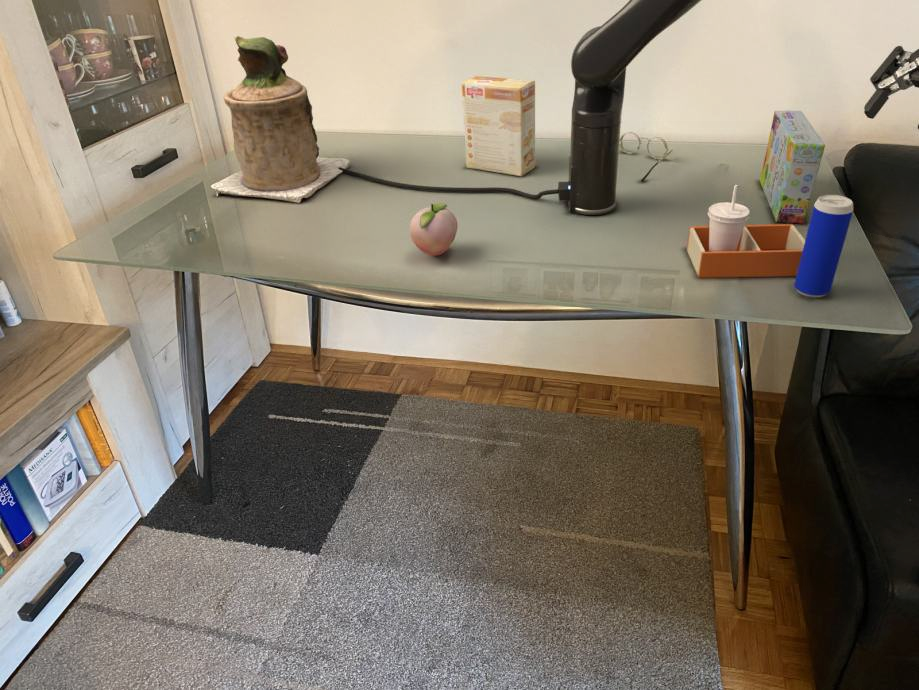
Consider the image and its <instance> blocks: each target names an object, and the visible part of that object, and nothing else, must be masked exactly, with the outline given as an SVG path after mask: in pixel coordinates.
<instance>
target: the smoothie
mask: <svg viewBox="0 0 919 690" xmlns="http://www.w3.org/2000/svg"><path fill="white" fill-rule="evenodd" d="M738 189H739V184H734V187H733V192H732V198H731V202H730V201H729V202H728V201H727V202H726V201H725V202H723V201H722V202H717V203H714V204H711V205H710V206H709V208H708V211H707V216H708V217H709V224H708V226H709V251H708V252H716V251H737V250H736V249H737V246H738V243H739V240H740V237H741V234H742V231H743V229H744V225H746V222H747V221H748V220H749V219H750V213H751V210H750V209H749V208H748V207H747V206H745V205H743V204H740V203H738V202H737V203H736V201H737V195H738Z"/></svg>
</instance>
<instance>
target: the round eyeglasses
mask: <svg viewBox="0 0 919 690" xmlns="http://www.w3.org/2000/svg"><path fill="white" fill-rule="evenodd" d="M628 134H631V135H634V136H635V137H636V138H637V141H638V146H637V147H636V148H637V149H636V150H635V151H634V152H631V151H628V150H627V149H626V148H625V147H624V144H623V138H624V137H625V135H628ZM641 139H642V140H643V139H644V140H647V143H646V150H647V153H648V155H649V156H650V157H651V158H653V159H654V160H658V161H657V162H655V164H653V166H651V168H650V169H649V171H647V173H646V174H645V175H644V176H643V177H642V178H641V180H640V182H644V181H645V180H646V178H647V177H648V176H649V175H650V174H651V172H652V171H653V169H654V168H655V167H656V166H657V165H659V164H660V163H661V162H662V161H663V160H664V159H666V158H667V157H668V156H669V155H670V154H671V153H672V152H673V148H669V147H668V142H666V140H665V139H664V138H663V137H660V136H654V137H652V138H651V139H649V138H648V137H643V136H640V137H639V135H638V134H637V133H635V132H632V131H628V132H625V133H623V134H622V135H620V143H619V149H620V151H622V152H624V153H625V154H629V155H632V154H635V153H637V152H638V151H639V150H640V148H641V144H642V141H641ZM652 139H658V140H660V141H661V142H662V144H663V147H664V149H665V152H664V153H663V155H662V156H661V157H656V156H654V155H653V154H652V153H651V152H650V149H649V145H650V142H651V141H652Z"/></svg>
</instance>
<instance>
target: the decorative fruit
mask: <svg viewBox="0 0 919 690" xmlns="http://www.w3.org/2000/svg"><path fill="white" fill-rule="evenodd" d="M447 207H448V205H447V204H446V203H444V202H435V203H431V204H430V206H429V207H424V208H422V209H419V211H417V212H416V213H415V215H414V216H413V217H412V219H411V221H410V224H409V235H410V239H411V241H412V243H413V244H414V245H415V246H416V247H417V248H418V249H419V251H420V252H422V253H424V254H426V255H429V256H439V255H440V256H441V255H443V254H444V253H445V252H446V251H448V249H449V248H450V247H451V245H452V244H453V242H454V241H455V238H456V236H457V232H458V227H459V225H458V224H459V223H458V219H457V217H456V216H455V215H454V213H453V212H452V211H451V210H450V209H447Z"/></svg>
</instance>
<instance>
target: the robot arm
mask: <svg viewBox="0 0 919 690" xmlns="http://www.w3.org/2000/svg"><path fill="white" fill-rule="evenodd" d="M700 2H702V0H628V2H626V3H625V5H624V6H623V7H621V9H619V11H617V12H616V13H615V14H614V15H612V16H611V17H610V18H608V20H606V21H605V22H604V23H603V24H602V25H598V26H596V27H593V28H591V29H588V30H587V31H586V32H585V33H584V34H583V35H582V36H581V38H580V39H579V40H578V42H577V43H576V45H575V46H574V49H573V51H572V53H571V58H570V59H571V60H570V69H571V74H572V76H573V79H574V91H573V100H572V106H571V118H570V119H571V125H570V152H569V153H570V154H569V158H568V181H558V183H557V184H558V185H557V187H558V188H556V189H547V190H543V191H539V193H537V194H532V193H531V194H530V193H526V192H525V191H521V190H518V189H515V188H510V187H496V186H495V187H455V186H454V187H453V186H452V187H449V186H430V185H417V184H410V183H403V182H402V183H401V182H396V181H392V180H387V179H384V178H378V177H375V176H371V175H367V174H365V173H362V172H358V171H354V170H351V169H348V168H347V169H344V168H341V167H339V168H338V169H340V170H342V171H343V172H342V173H345V174H348V175H352V176H354V177H358V178H362V179H366V180H369V181H372V182H375V183H379V184H383V185H387V186H391V187H396V188H397V187H398V188H404V189H411V190H417V191H418V190H419V191H428V192H430V191H431V192H432V191H433V192H447V193H449V192H450V193H451V192H452V193H495V192H496V193H509V194H514V195H517V196H520V197H523V198H526V199H530V200H540V199H541V198H542V197H543V196H547V195H558V201H559V202H567V207H568V212H569V213H570V214H573V213H574V214H578V215H579V214H580V215H584V216H600V215H606V214H609V213H611V212H613V210H615V208H616V202H617V201H616V199H617V196H616V195H617V194H616V193H617V184H618V183H617V180H618V168H619V154H620V143H621V141H620V138H621V128H622V127H621V126H622V115H623V114H622V113H623V106H624V99H625V98H624V97H625V86H626V76H627V75H626V74H627V67H628V66H629V65H630V64H631V63H632V62H633V61H634V60H635V59H636V57H638V55H639V54H640V53H641V52H643V50H644V49H645V48H646V46H648V45H649V44H650V43H651V42H652V41H653V40H654V39H655V38H656V37H657V36H658V35H660V34H661V33H663V32H664V31H665V30H666V29H668V28H669V27H670V26H672V25H673V24H674V23H676V22H677V21H679V20H680V19H681V18H682V17H683V16H685V15H686V14H687V13H688V12H690V11H691V10H692V9H693V8H694V7H696V6H697V5H698V4H699V3H700ZM907 63H908V64H907ZM906 76H908V78H905V77H906ZM869 81H870V82H871V84H872V86H873V87H874V89H875V91H874V93H873V94H872V95H871V96H870V97H869V99H868V101H867V102H866V103H865V105H864V108H863V109H864V112H863V113H864V115H865V116H866V118H868V119H872V120H873V119H875V117H877V115H878V113H879V112H880V111H881V109H882V108H883V107H884V105H885V104H886V103H887V102H888V101H889V99H890V96H892V95H893V94H896V93H897V92H899V91H906V90H907V89H910V88H911V87H913V86H914V88H918V89H919V48H917V49H916V50H914V51H912V52H911V51H908V50H905V49H904V48H903V46H902V45H896V46H895V47H894V48H893V49H892V51H891V52H890V53H889V54H888V55H887V57H886V58H885V59H884V61H883V62H882V63H881V64H880V66H879V67H878V68H877V69H876V70H875V72H874V73H873V74H872V75H871V76H870V78H869ZM917 129H918V130H919V124H917Z"/></svg>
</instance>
